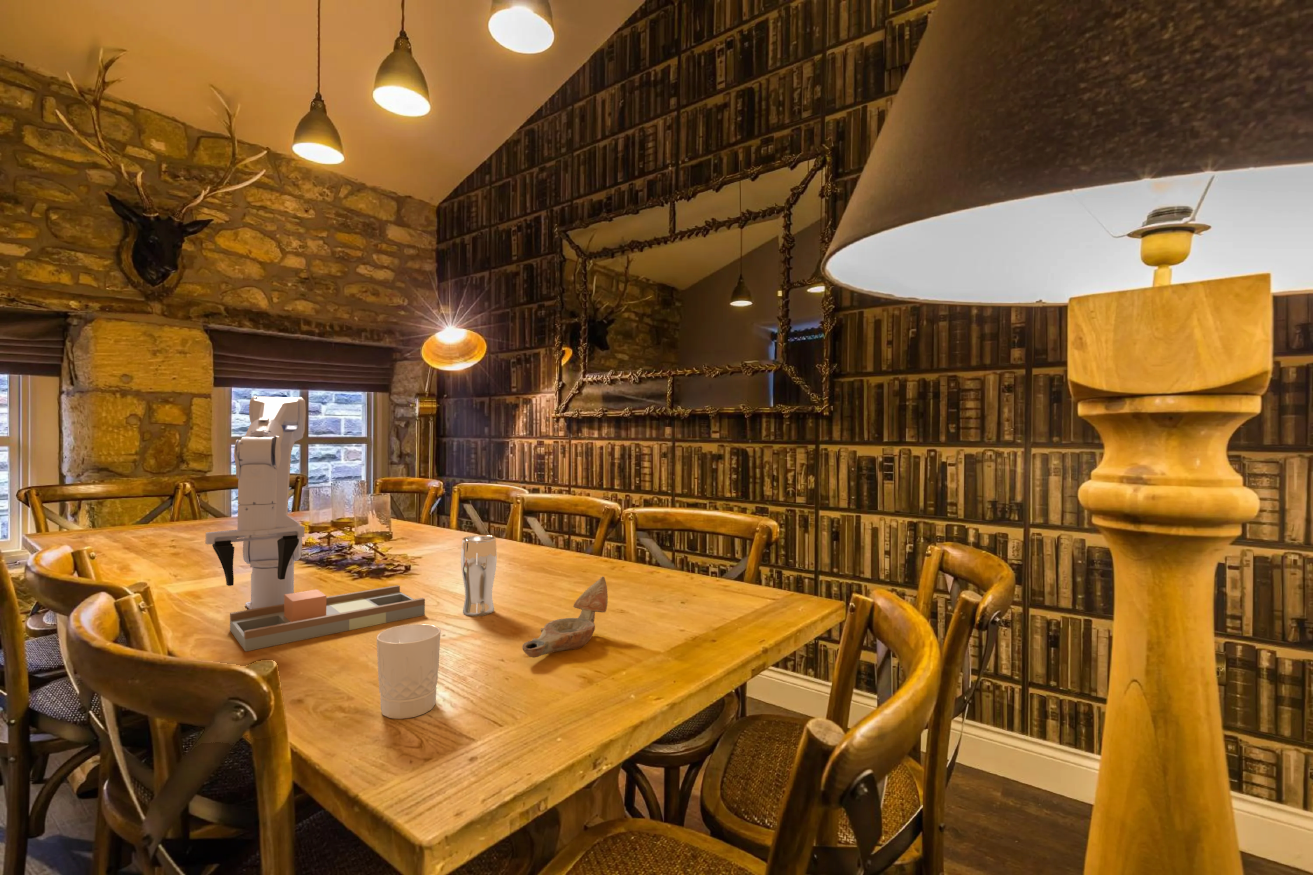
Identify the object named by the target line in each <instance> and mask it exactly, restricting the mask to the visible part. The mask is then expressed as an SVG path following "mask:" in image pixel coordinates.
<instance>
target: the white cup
mask: <svg viewBox="0 0 1313 875" xmlns="http://www.w3.org/2000/svg"><path fill="white" fill-rule="evenodd" d="M441 632H442V631H441V628H440V627H438V626H436V625H433V624H428V623H411V624H410V623H409V624H401V625H398V626H392V627H390V628H389V627H388V628H387V629H384V630H381V631H380V632H379V633H378V634H377V635H376V651H377V652H376V653H377V676H378V677H377V678H378V691H379V694H380V696H379V697H380V711H381V714H382V715H383V716H385V717H387V718H389V719H395V720H396V719H398V720H402V719H411V718H415V717H419V716H422V715H424V714H426V713H428V712H429V711H431V710H432V709H433V708H434V707H435V705H436V704H437V685H438V681H439V666H440V650H441V649H440V648H441Z"/></svg>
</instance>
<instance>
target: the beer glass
mask: <svg viewBox="0 0 1313 875" xmlns="http://www.w3.org/2000/svg"><path fill="white" fill-rule="evenodd" d="M461 539H462V540H461V549H460V551H461V552H460V567H461V575H462V581H463V587H464V602H463V608H462V613H463V615H465V616H469V617H481V616H482V617H483V616H487V615H490V614H492V613H494V611H495V606H494V600H493V588H494V581H495V577H496V576H495V575H496V570H497V554H498V552H497V540H496V539H497V538H496V536H495V535H488V534H485V535H483V534H482V535H481V534H480V535H476V534H475V535H470V536H469V535H468V536H464V537H462V538H461Z"/></svg>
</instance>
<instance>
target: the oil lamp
mask: <svg viewBox="0 0 1313 875" xmlns="http://www.w3.org/2000/svg"><path fill="white" fill-rule="evenodd" d="M608 598H609V597H608V585H607V582H606V578H605V576H600V578H599V579H598V580H597V581H595V582H594V583H593V584H591V585H590V586H589V587H587V589H585V591H584V592H582V593H581V595H579V597H578V598H577V599H576V600H575V601H574V603H573V606H572V607H573V608H574V609H577V610H581V611H580V614H579V615H578V617H566V618H559V619H554V620H551V621H549V622H546V623H545V625H544V626H543V627H542V628H540V633H541V634H540V635H539V637H538V638H537V637H536V638H535V637H534V638H532V639H531V640H528V641H526V642H524V643H523V644H522V646H521V648H522V650H523V653H525V655H527V656H528V657H530V658H534V659H535V658H538V657H541V656H543V655H547V654H551V653H556V652H561V651H569V650H577V649H581V648H582V647H584V646H586V644H588V642H589V641H590V639H591V638H592V637H593V635H594V633H595V630H596V624H595V619H596V618H595V617H596V613H606V612H607V608H608V602H609V601H608Z"/></svg>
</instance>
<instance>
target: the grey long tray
mask: <svg viewBox="0 0 1313 875" xmlns="http://www.w3.org/2000/svg"><path fill="white" fill-rule="evenodd" d="M400 590H401V587H400V585H398V584H395V585H391V586H384V587H378V588H372V589H368V590H367V589H366V590H361V591H355V592H354V591H353V592H348V593H343V594H336V595H329V596H326V616H321V617H316V618H310V619H305V620H299V621H294V622H290V621H289V620H288V619H287V618H286V617H285V616H284V604H281V605H275V606H269V607H263V608H257V609H247V610H246V609H245V610H240V611H234V612H232V611H231V612H230V613H229V631H230V632H231V634H232V635H233V636H234V638H235V640H236V641H237V642H238V643H239V645H240V646H241V648H242V649H243V650H244V651H245V652H249V651H254V650H259V649H264V648H268V647H274V646H278V645H283V644H287V643H294V642H299V641H302V640H308V639H313V638H317V637H318V638H319V637H324V636H328V635H332V634H337V633H343V632H347V631H352V630H356V629H362V628H367V627H371V626H372V627H373V626H376V625H383V624H387V623H393V622H396V621H397V622H398V621H400V620H405V619H406V620H407V619H411V618H417V617H421V616H425V614H426V612H425V611H426V610H425V609H426V608H425V607H426V606H425V605H426V604H425V603H426V602H425V601H426V599H425V598H424V597H420V598H413V597H410V596H408V595H407V594H405V593H403V592H401V591H400Z"/></svg>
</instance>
